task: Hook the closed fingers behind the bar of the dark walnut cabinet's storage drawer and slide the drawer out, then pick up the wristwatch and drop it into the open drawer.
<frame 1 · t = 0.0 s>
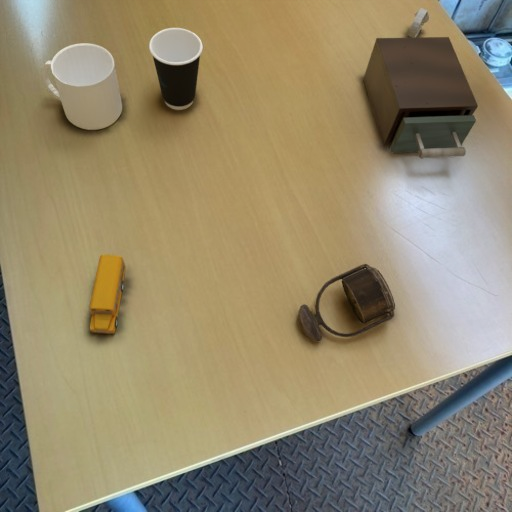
cabinet: (408, 109, 94), on the table
mechanical counter: (341, 310, 75), on the table
dixie cup: (179, 100, 91), on the table
toy bus: (109, 301, 73), on the table
mug: (86, 107, 89), on the table
wristwatch: (412, 35, 104), on the table
drawer: (424, 113, 88), point 4 cm above the table, slide at 1.0 cm
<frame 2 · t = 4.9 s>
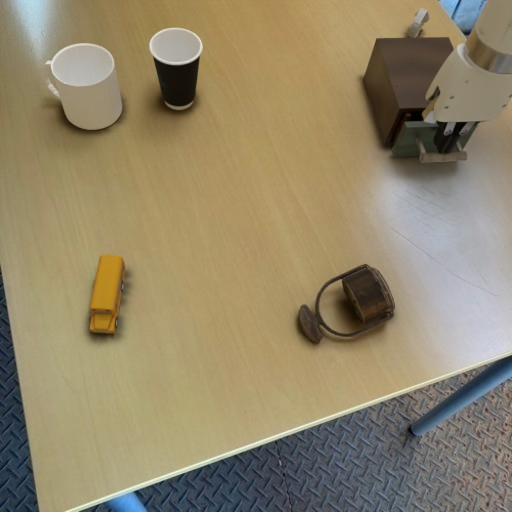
hand: (441, 146, 83), 6 cm above the table, tool pointing down, fingers closed
drawer: (425, 117, 88), point 4 cm above the table, slide at 1.8 cm, touching gripper
everything else where it was.
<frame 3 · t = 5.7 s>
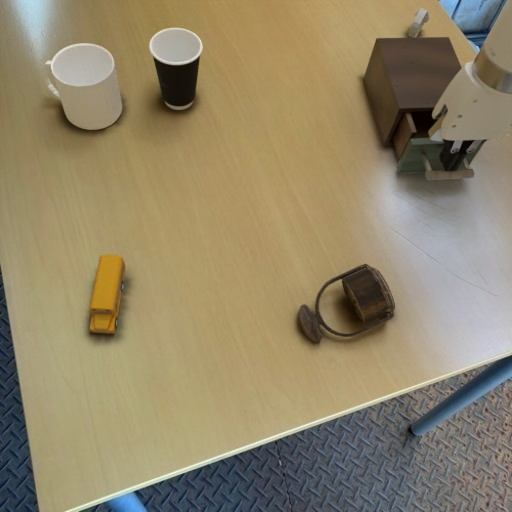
hand: (447, 163, 81), 6 cm above the table, tool pointing down, fingers closed
drawer: (431, 133, 86), point 4 cm above the table, slide at 5.1 cm, touching gripper
everything else where it was.
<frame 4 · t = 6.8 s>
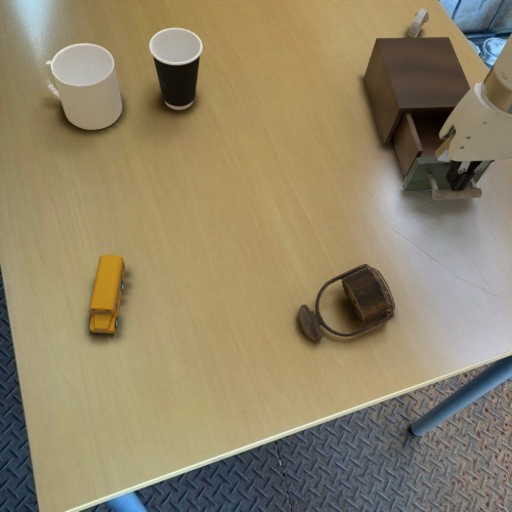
hand: (454, 182, 80), 6 cm above the table, tool pointing down, fingers closed
drawer: (437, 150, 84), point 4 cm above the table, slide at 8.7 cm, touching gripper
everything else where it was.
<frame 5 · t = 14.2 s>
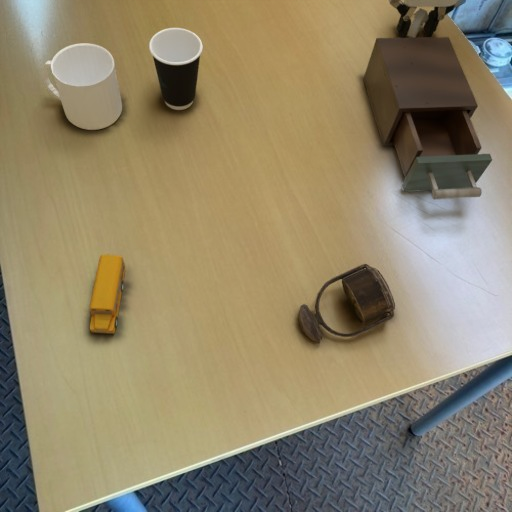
hand: (414, 33, 104), 0 cm above the table, tool pointing down, fingers closed on wristwatch, 4 cm apart
wristwatch: (411, 35, 104), on the table, touching gripper
drawer: (437, 150, 84), point 4 cm above the table, slide at 8.6 cm
everything else where it was.
when the fingers open (7 cm above the table, at t = 21.6 s): wristwatch stays where it is, resting on drawer.
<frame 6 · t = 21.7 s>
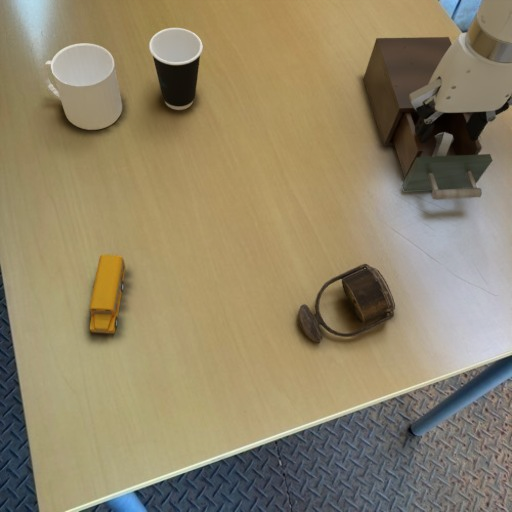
hand: (445, 134, 82), 8 cm above the table, tool pointing down, fingers open, 7 cm apart
wristwatch: (434, 160, 87), point 2 cm above the table, touching drawer
drawer: (437, 150, 84), point 4 cm above the table, slide at 8.7 cm, touching gripper, wristwatch
everything else where it was.
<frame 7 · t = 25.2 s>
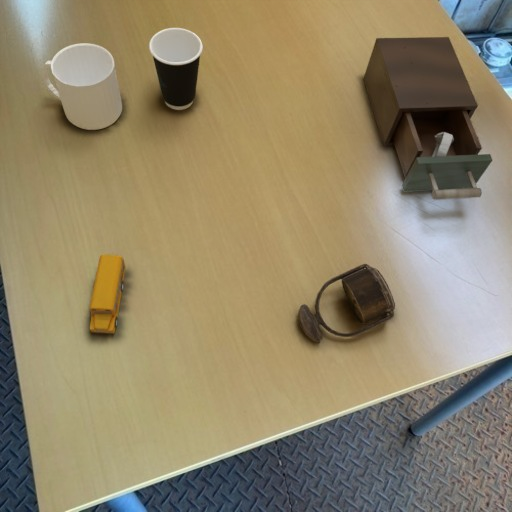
drawer: (437, 150, 84), point 4 cm above the table, slide at 8.7 cm, touching wristwatch
everything else where it was.
at the end: drawer slide at 8.7 cm; wristwatch inside the target area in the drawer (0.7 cm from its centre), point 1.8 cm above the cabinet's base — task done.
